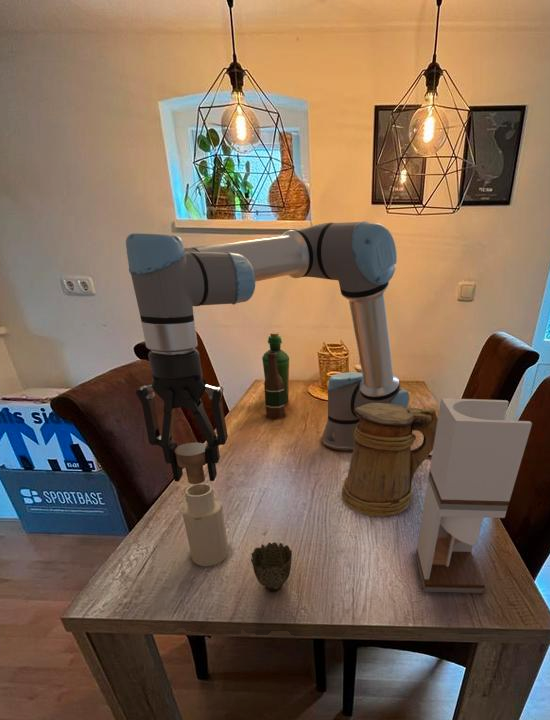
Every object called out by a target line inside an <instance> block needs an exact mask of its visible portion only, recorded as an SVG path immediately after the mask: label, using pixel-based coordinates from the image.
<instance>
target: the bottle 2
mask: <svg viewBox="0 0 550 720" xmlns="http://www.w3.org/2000/svg"><path fill="white" fill-rule="evenodd" d="M267 344H268V345H269V349H268V350H267V351H265V353H263V355H262V358H261V359H262V367H263V375H264V379H265V378H266V377H267V375H268V356H267V354H268V352H276V353H277V366H278V373H279V375H280V377H281V378H282V381H283V385H284V400H285V405H287V404H288V403H289V393H290V391H289V390H290V387H289V386H290V356H289V355H288V353H287V352H285V351H284V350H283V349H281V344H283V341H282V336H281V335H280V333H279V332H270V335H269V336H268V339H267Z"/></svg>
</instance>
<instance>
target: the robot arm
mask: <svg viewBox="0 0 550 720" xmlns="http://www.w3.org/2000/svg"><path fill="white" fill-rule="evenodd" d="M125 249H126V256H127V263H128V273H129V274H130V276H131V281H132V286H133V290H134V294H135V299H136V303H137V308H138V313H139V318H140V322H141V328H142V333H143V337H144V342H145V347H146V348H147V349H148V350H149V352H148V354H147V356H148V361H149V366H150V370H151V371H150V372H151V375H152V382H151V384H148V385H146V384H145V385H144V384H143V385H142V386H140V387H138V389H136V391H135V394H136V396H137V398H138V399H139V401H140V403H141V406H142V412H143V417H144V422H145V428H146V433H147V439H148V443H149V445H151V446H159V447H161V449H162V453H163V457H164V462H165V463H166V464H167V465H168V464H170V466H171V470H172V475H173V479H174V482H180V481H181V479H182V477H183V475H184V473H183V468H182V467H179V466H178V465H177V462H176V457H175V452H174V450H175V449H176V448H177V447H178V443H177V442H173V440H174V439H173V434H174V426H175V421H176V420H175V418H176V411H177V409H178V408H185V409H189V411H190V413H191V414H192V415H193V416H194V418H195V421H196V423H197V426H198V427H199V430H200V431H201V433H202V435H203V437H204V439H205V441H206V443H207V444H206V448H205V454H206V460H207V464H206V466H207V472H208V478H209V482H215V479H216V478H217V475H218V472H217V464H219V461H220V459H221V455H220V447H219V446H224V445H226V443H227V440H228V438H229V434H228V429H227V424H226V419H225V413H224V406H223V400H222V399H223V394H224V387H223V386H221V385H217V386H213V385H209V384H208V383H207V381H206V380H205V379H204V377H203V369H202V364H201V357H200V352H199V350H198V349H196V348H197V347H198V345H199V344H198V337H197V336H198V335H197V329H196V322H195V316H194V307H200V306H215V305H237V304H239V303H246V302H248V301H249V300H251V298H252V297H253V295H254V293H255V290H256V282H260V281H265V280H270V279H275V278H280V277H285V276H289V277H291V278H293V279H300V278H316V279H323V280H329V281H338V285H339V288H340V289H339V290H340V294H341V296H342V297H343V298H345V299H346V300H348V304H349V309H350V315H351V320H352V326H353V330H354V331H353V332H354V337H355V342H356V347H357V353H358V358H359V363H360V369H361V372H357V371H350V372H349V371H347V372H341V373H336V374H333V375H331V376H330V377H329V378H328V386H327V421H326V424H325V428H324V429H323V432H322V436H321V441H322V444H323V445H324V447H327V448H328V449H331V450H334V451H339V452H340V451H341V452H353V449H354V444H355V439H354V432H355V428H356V425H357V424H358V423H359V421H360V416H359V415H357V414H356V413H354V410H355V409H356V408H357V407H360V406H363V405H366V404H369V403H387V404H395V405H401V406H405V407H409V402H410V393H409V392H408V390H406V389H405V388H401V385H400V380H399V377H398V376H397V375H396V374H394V372H393V364H392V363H393V362H392V355H391V345H390V337H389V330H388V321H387V320H388V319H387V313H386V312H387V311H386V303H385V296H384V295H385V294H384V293H385V292H386V290H387V289H388V287H389V286H390V284H389V282H390V281H391V280H392V278H393V277H394V274H395V272H396V264H397V259H398V258H397V256H398V255H397V254H398V253H397V247H396V242H395V240H394V237H393V235H392V233H391V231H390V230H389V229H388V228H386V225H383V224H381V223H378V222H371V221H351V222H349V221H348V222H323V223H317V224H314V225H310V226H306V227H301V228H297V229H290V230H286V231H284V232H283V233H282V234H281V236H275V237H268V238H260V239H259V238H257V239H251V240H240V241H233V242H225V243H215V244H208V245H207V244H206V245H199V246H198V245H197V246H191V247H184V242H183V240H182V238H181V237H180V236H178V235H171V234H160V233H159V234H158V233H137V232H135V233H134V232H133V233H130V234H128V235H127V236H126V239H125ZM155 393H156V394H157V395H158V396H159V397H160V399H161V400H162V401H163V419H162V427H161V428H162V429H161V431H160V425H159V419H158V412H157V407H156V406H157V405H156V401H155V397H156V394H155ZM205 393H206V394H207V397H208V399H209V400H210V401H211V411H212V414H213V421H214V426H215V430H214V427H213V426H212V425H213V424H212V423H211V421H210V419H209V416H208V414H207V412H206V410H205V408H204V403H203V401H202V397H203V395H204V394H205ZM427 458H430V459H431V458H432V454H429V455H428V457H427Z"/></svg>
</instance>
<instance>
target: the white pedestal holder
mask: <svg viewBox="0 0 550 720" xmlns="http://www.w3.org/2000/svg"><path fill="white" fill-rule="evenodd" d="M509 403H510V402H509V401H508V400H506V399H504V400H503V399H482V398H481V399H480V398H479V399H478V398H451V397H450V398H449V397H448V398H447V397H441V398H440V403H439V408H438V414H437V415H438V416H437V418H438V421H437V427H436V434H435V440H434V446H433V450H432V451H431V455H432V458H430V465H429V471H428V476H427V484H426V489H425V490H426V491H425V496H424V502H423V508H422V514H421V521H420V526H419V533H418V538H417V546H416V551H415V558H416V561H417V567H418V570H419V575H420V579H421V584H422V588H423V592H425V593H426V592H427V593H428V592H429V593H464V594H465V593H468V594H469V593H471V594H483V593H484V590H485V587H486V584H485V582H484V579H483V577H482V575H481V572H480V570H479V567H478V565H477V563H476V560H475V558H474V556H473V553H472V549H473V546H477V544H478V540H479V537H480V533H481V529H482V525H483V522H484V518H493V519H495V518H496V519H505V518H506V515H507V511H508V507H509V504H510V501H511V498H512V494H513V491H514V487H515V483H516V481H517V477H518V474H519V470H520V467H521V463H522V460H523V457H524V453H525V450H526V446H527V443H528V440H529V436H530V433H531V429H532V425H533V422H531V421H530V420H505V419H506V415H507V412H508V407H509Z"/></svg>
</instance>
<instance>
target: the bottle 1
mask: <svg viewBox="0 0 550 720" xmlns="http://www.w3.org/2000/svg"><path fill="white" fill-rule="evenodd" d="M184 495H185V501H186V503H185V504H183V506H182V508H181V513H182V517H183V522H184V527H185V532H186V536H187V541H188V546H189V550H190V555H191V559H192V561H193V563H194V564H196V565H198V566H200V567H211V566H215V565H218V564H220V563H222V562H223V561H224V560H226V559H227V558H228V555H229V544H228V538H227V531H226V524H225V517H224V511H223V504H222V502H221V500H219V499H217V498H216V497H215V494H214V488H213V486H212V485H211V484H209V483H205V482H202V483H199V484H190V485H189V486H188V487H186V488H185V490H184Z"/></svg>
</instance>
